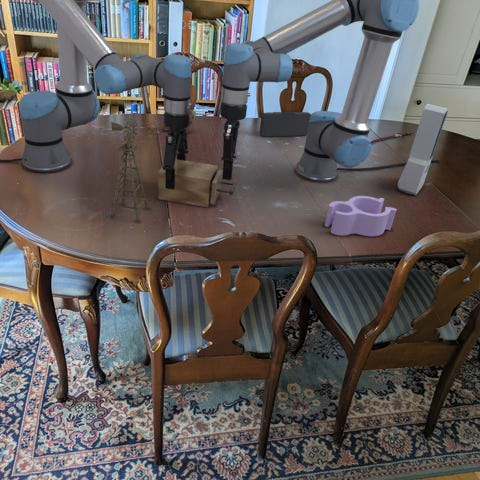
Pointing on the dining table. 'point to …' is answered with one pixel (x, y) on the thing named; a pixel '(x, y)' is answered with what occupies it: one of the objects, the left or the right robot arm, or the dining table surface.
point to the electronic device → (422, 149)
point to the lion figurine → (192, 119)
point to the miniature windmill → (125, 147)
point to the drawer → (219, 187)
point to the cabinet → (188, 183)
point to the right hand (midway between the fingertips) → (226, 178)
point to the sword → (389, 137)
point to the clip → (359, 216)
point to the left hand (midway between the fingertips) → (175, 180)
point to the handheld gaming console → (284, 123)
